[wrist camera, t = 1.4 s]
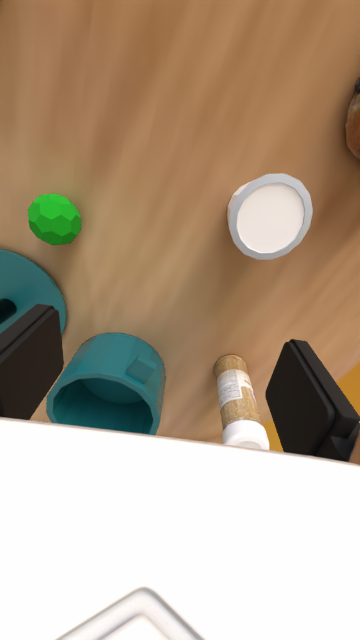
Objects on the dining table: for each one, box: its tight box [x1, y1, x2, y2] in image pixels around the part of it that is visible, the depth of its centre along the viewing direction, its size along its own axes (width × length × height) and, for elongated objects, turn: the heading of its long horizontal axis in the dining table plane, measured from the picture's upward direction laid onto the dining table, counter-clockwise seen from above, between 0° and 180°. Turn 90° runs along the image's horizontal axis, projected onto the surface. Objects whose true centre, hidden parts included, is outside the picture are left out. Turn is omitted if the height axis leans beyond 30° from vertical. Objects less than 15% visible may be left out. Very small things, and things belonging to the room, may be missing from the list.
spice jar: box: [215, 355, 269, 450], centre depth 32 cm, size 5×5×14 cm
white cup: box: [227, 174, 313, 259], centre depth 25 cm, size 7×7×7 cm
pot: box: [46, 333, 166, 435], centre depth 36 cm, size 14×19×8 cm
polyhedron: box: [28, 194, 81, 245], centre depth 27 cm, size 5×5×5 cm
